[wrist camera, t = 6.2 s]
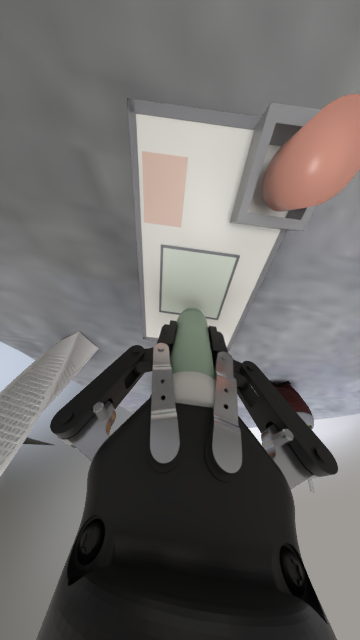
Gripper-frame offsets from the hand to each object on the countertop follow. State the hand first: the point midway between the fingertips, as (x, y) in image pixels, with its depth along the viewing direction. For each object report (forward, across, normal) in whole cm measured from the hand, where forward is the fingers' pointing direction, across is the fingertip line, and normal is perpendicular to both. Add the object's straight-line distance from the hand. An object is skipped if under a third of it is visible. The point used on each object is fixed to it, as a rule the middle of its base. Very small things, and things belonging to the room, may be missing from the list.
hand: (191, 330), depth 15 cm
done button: (+3, -5, -13) cm, 14 cm away
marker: (+2, 0, 0) cm, 2 cm away
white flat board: (+7, 0, -4) cm, 8 cm away
